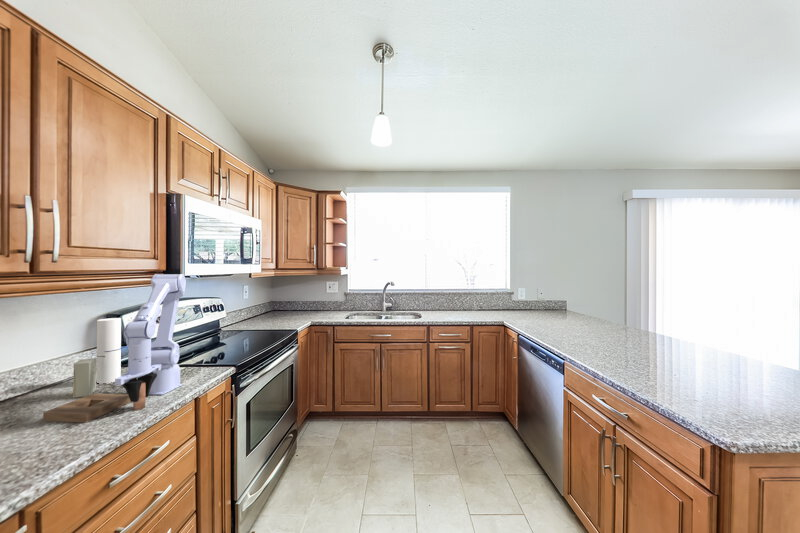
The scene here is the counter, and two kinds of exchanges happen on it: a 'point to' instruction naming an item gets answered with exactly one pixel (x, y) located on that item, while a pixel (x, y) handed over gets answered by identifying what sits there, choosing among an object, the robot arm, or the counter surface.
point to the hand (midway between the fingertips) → (139, 399)
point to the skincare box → (84, 377)
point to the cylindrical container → (108, 350)
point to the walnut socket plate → (86, 408)
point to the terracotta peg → (140, 398)
